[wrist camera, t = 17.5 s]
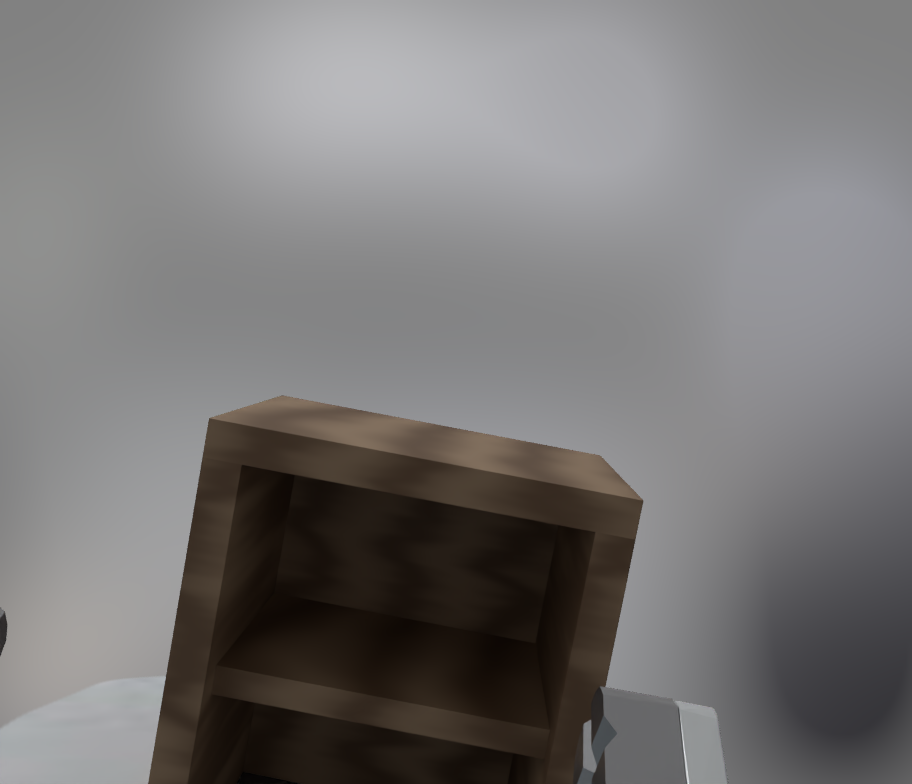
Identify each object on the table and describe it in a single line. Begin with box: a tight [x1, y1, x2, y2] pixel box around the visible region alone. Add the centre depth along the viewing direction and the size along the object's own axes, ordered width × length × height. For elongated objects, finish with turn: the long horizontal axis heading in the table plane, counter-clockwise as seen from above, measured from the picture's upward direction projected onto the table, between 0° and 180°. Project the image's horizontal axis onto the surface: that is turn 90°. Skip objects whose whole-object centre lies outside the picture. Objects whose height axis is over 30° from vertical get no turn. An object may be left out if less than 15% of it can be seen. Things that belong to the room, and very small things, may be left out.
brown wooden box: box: [148, 396, 643, 784], centre depth 52 cm, size 22×16×26 cm
